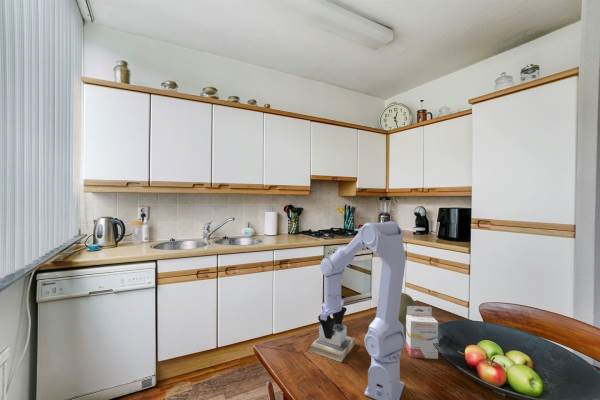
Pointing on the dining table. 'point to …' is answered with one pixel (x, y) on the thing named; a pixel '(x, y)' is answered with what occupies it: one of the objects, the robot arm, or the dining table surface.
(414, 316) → the ink cartridge box
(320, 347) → the stand
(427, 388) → the dining table surface
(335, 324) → the housing
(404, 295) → the fruit
